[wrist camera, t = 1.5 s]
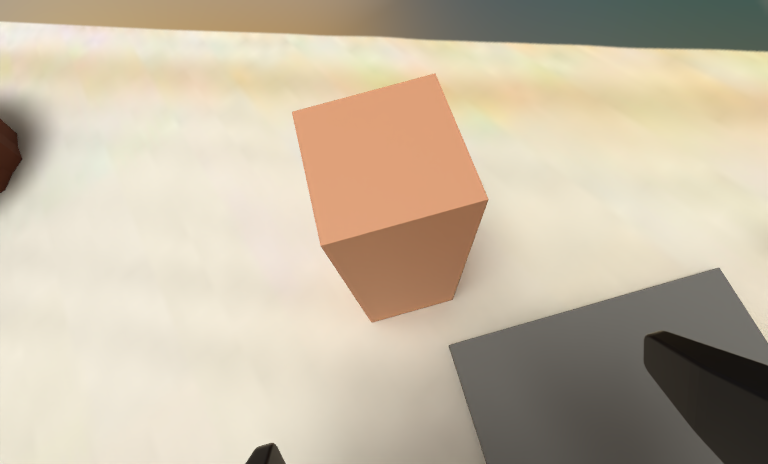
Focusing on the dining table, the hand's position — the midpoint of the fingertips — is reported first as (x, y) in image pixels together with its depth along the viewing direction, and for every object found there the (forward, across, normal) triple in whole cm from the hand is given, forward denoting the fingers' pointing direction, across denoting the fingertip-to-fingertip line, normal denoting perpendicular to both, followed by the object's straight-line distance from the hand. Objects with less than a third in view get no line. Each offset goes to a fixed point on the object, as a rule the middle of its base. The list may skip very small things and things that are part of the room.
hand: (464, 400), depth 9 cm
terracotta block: (+14, 0, +4) cm, 15 cm away
